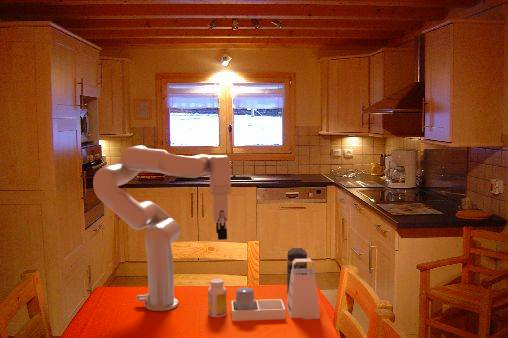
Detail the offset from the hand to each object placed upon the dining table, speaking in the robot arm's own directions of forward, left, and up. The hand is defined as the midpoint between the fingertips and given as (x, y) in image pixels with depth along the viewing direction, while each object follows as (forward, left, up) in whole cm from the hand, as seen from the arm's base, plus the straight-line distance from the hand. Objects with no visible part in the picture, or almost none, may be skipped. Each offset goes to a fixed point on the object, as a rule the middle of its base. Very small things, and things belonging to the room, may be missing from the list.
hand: (221, 236), depth 190 cm
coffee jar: (+30, +14, -28) cm, 44 cm away
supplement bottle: (-2, -4, -28) cm, 29 cm away
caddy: (+13, -6, -28) cm, 31 cm away
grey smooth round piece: (+8, -6, -28) cm, 29 cm away
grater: (+29, -5, -28) cm, 41 cm away
